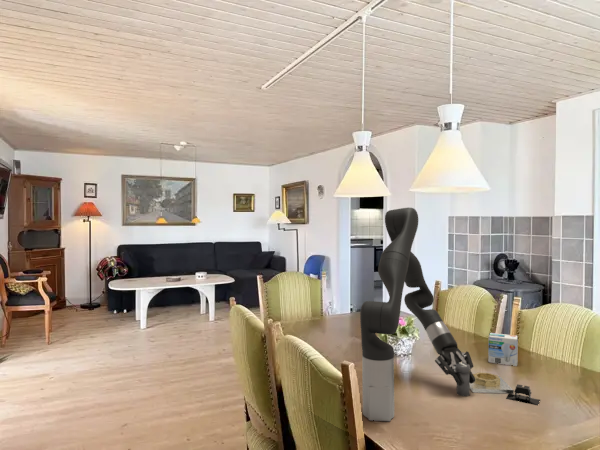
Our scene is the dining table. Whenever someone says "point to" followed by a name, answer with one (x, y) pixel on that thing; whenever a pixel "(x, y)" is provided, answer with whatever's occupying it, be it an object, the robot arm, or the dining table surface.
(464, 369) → the dark grey capped cylinder
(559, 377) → the dining table surface
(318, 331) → the dining table surface
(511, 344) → the light bulb box
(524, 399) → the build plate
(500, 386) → the hub plate
